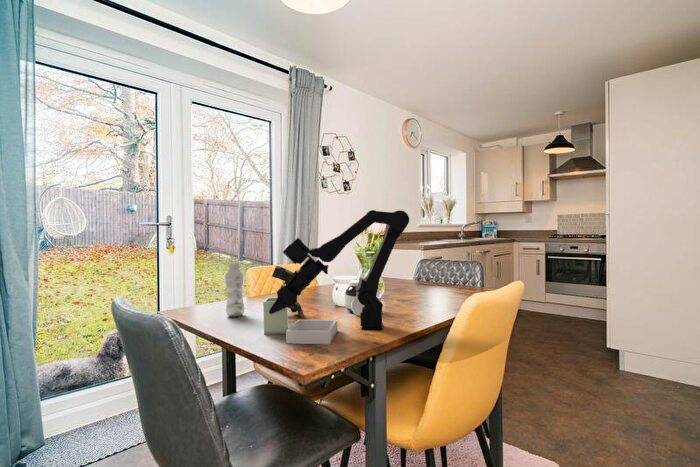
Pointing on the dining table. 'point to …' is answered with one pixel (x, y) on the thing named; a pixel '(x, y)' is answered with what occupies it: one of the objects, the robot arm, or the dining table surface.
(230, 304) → the plastic bottle
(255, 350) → the dining table surface
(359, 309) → the spread jar
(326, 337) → the grey crate
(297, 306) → the pottery mug
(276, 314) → the green crate
